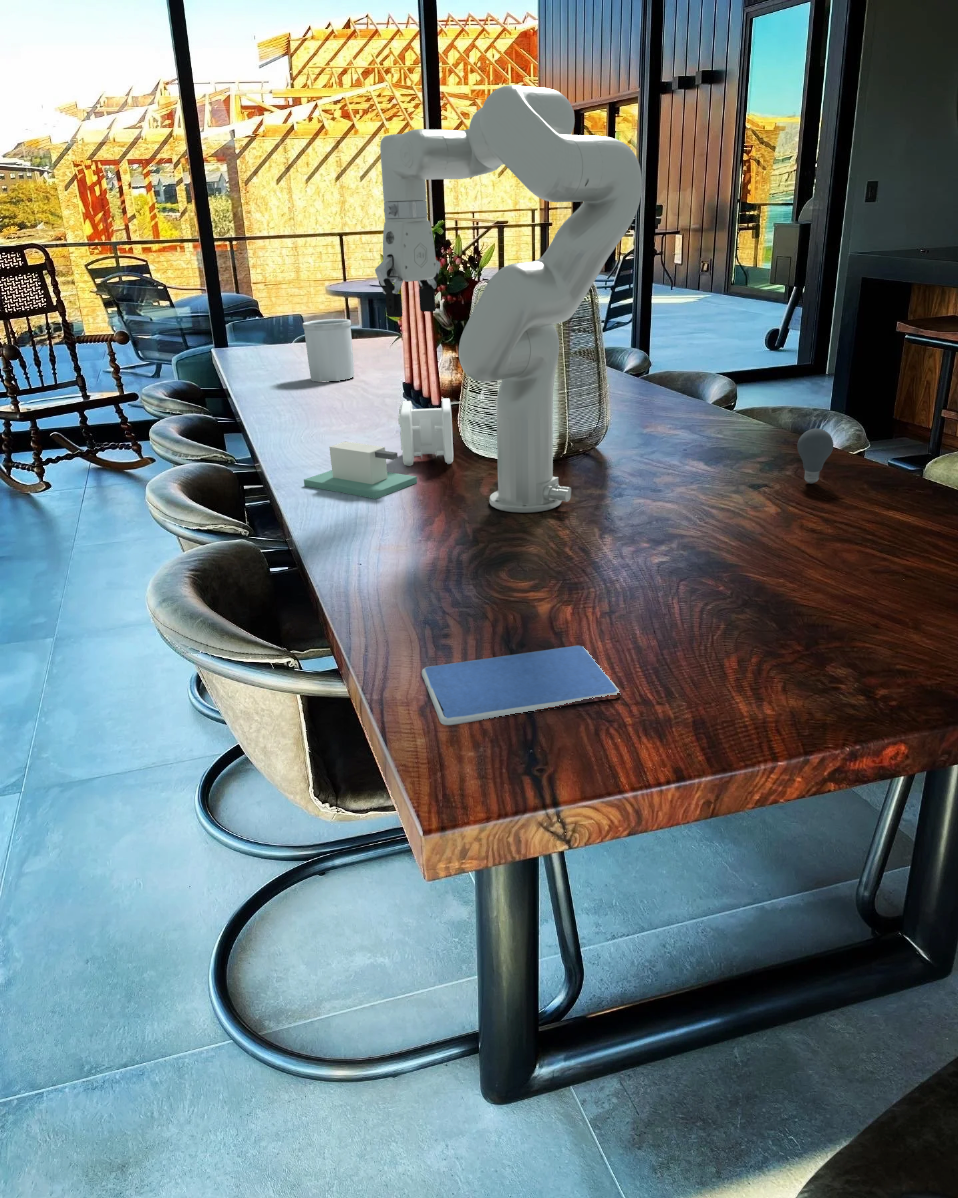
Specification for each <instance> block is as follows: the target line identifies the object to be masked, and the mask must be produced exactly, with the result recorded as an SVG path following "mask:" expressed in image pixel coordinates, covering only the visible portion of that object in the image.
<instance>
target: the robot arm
mask: <svg viewBox="0 0 958 1198" xmlns="http://www.w3.org/2000/svg"><path fill="white" fill-rule="evenodd" d="M575 120H576V119H575V111H574V109H573V106H572V104H571V102H570V100H569V99H568V98H567V97H566V96H565V95H564V94H562V93H561V92H560V91H558V90H555V89H551V88H547V87H539V86H538V87H536V86H526V85H517V84H516V85H515V84H514V85H513V84H512V85H511V84H509V85H503V86H501V87H498V88H497V89H495V90H494V91H492V92H491V93H490V95H488V97H487V98H486V99H485V101H484V103H483V105H482V107H481V108H479V109H477V110H476V112H475V113H474V114H473V115H472V118H471V120H470V123H469V127H468V129H461V130H457V129H437V128H435V129H434V128H432V129H425V128H418V129H411V130H409V131H406V132H404V133H398V134H397V133H396V134H389V135H385V136H383V137H382V138H381V140H380V144H379V146H380V148H379V150H380V164H381V166H380V167H381V180H382V181H381V182H382V192H383V193H382V194H383V212H384V222H383V223H384V224H383V232H382V234H383V235H382V259H383V261H382V262H380V264H379V265H377V266H376V268H375V270H374V272H375V274H376V277H377V279H378V285H379V286H380V287H381V289H382V293H383V294H384V295H385V309H386V316H387V317H388V318H402V317H403V301H402V293H399V292H400V290H401V287H402V284H403V282H418V284H419V285H420V287H421V288H419V291H418V292H419V310H420V312H425V313H426V312H427V313H428V312H429V313H430V312H431V313H433V312H436V294H435V293H436V292H435V289H436V288H437V282H438V280H439V277H440V276H439V273H440V269H441V262H440V261H439V260H437V259H436V249H435V242H434V241H435V240H434V236H433V235H434V233H433V230H432V225H431V222H430V220H428V204H427V186H426V185H427V184H426V180H428V181H429V180H464V179H469V178H473V177H477V176H482V175H486V174H489V173H492V172H494V171H497V170H498V169H499V168H500V167H501V166H503V165H504V166H505V167H506V168H507V169H508V170H509V171H510V172H511V173H512V174H513V175H514V176H515V177H516V178H517V179H518V180H519V182H520V183H522V184H523V186H524V187H525V188H527V189H528V191H529V192H531V193H532V194H533V195H534V196H535V197H537V198H539V199H540V200H543V201H546V202H550V203H569V202H570V203H574V202H575V203H577V202H579V203H580V202H582V203H581V204H580V206H579V207H578V208H577V209H576V210H575V211H574V212H573V213H572V214H571V215H570V216H569V217H568V218H567V219H566V220H565V221H564V222H563V223H562V224H561V226H560V227H559V228H558V230H557V231H556V233H555V235H554V237H553V239H552V240H551V242H550V244H549V246H548V247H547V249H546V251H545V252H544V253H543V255H542V256H541V257H540V258H538V259H536V260H533V261H524V262H517V263H512V264H508V265H506V266H504V267H502V268H500V269H499V270H498V271H496V272H495V273H494V274H493V276H491V278H490V279H489V280H488V282H487V284H486V285H485V288H484V290H483V291H482V293H481V295H480V297H479V299H478V301H477V303H476V304H475V307H474V309H473V311H472V312H471V315H470V317H469V319H468V321H466V324H465V326H464V328H463V331H462V334H461V336H460V339H459V345H458V359H459V363H460V365H461V368H462V370H463V372H464V373H465V374H466V375H467V376H468V377H469V378H471V379H472V380H474V381H477V382H481V383H485V382H486V383H488V382H497V381H501V382H500V386H499V388H498V392H497V397H496V408H495V409H496V442H497V443H496V448H497V449H496V450H497V451H496V453H497V490H496V491H494V492H492V493H491V494H490V496H489V504H490V506H491V507H493V508H495V509H497V510H499V511H504V512H510V513H523V514H527V513H538V512H539V513H540V512H544V511H549V510H553V509H555V508H556V507H559V506H560V505H561V504H562V502H569V501H570V500H571V498H572V487H571V486H570V487H569V486H563V485H562V486H560V484H559V477H558V476H554V475H553V474H554V473H553V472H554V471H553V470H554V463H553V462H554V461H553V460H554V459H553V458H554V455H553V454H554V453H553V451H554V447H553V446H554V437H553V436H554V435H553V434H554V431H553V429H554V428H553V427H554V425H553V423H554V422H553V421H554V389H555V388H554V385H555V376H556V370H557V364H558V359H559V353H560V339H559V333H558V332H557V329H556V326H555V325H558V324H561V323H564V322H566V321H569V320H570V319H571V317H572V316H573V315H574V314H575V312H576V311H577V310H578V309H579V306H581V303H582V302H583V300H584V299H585V297H586V296H587V294H588V293H589V290H590V289H591V287H592V286H593V284H594V282H595V281H596V279H597V277H598V276H599V274H600V273H601V271H602V269H603V268H604V265H605V264H606V262H607V260H608V259H609V257H610V256H611V254H612V253H613V252H614V250H615V249H616V247H617V246H618V244H619V243H620V241H621V240H622V238H623V237H624V236H625V234H626V233H627V231H628V229H629V228H630V227H631V225H632V223H633V221H634V219H635V217H636V214H637V212H638V209H639V207H640V206H639V205H640V203H641V199H642V197H641V196H642V189H643V187H642V185H643V177H642V170H641V165H640V163H639V160H638V158H637V156H636V154H635V152H634V151H633V150H632V149H631V147H630V146H629V145H628V144H626V143H625V142H623V141H621V140H620V139H616V138H613V137H610V136H601V135H589V134H588V135H587V134H586V135H584V134H583V135H581V134H579V135H578V134H572V133H573V131H574V128H575V122H576V121H575Z"/></svg>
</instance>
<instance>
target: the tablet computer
mask: <svg viewBox="0 0 958 1198" xmlns="http://www.w3.org/2000/svg"><path fill="white" fill-rule="evenodd" d="M584 647H585V646H582V645H573V646H572V645H571V646H570V645H569V646H565V647H564V646H563V647H559V648H558V647H557V648H551V649H545V650H537V651H531V652H522V653H516V654H509V655H502V656H496V657H489V658H481V659H474V660H466V661H459V662H453V663H447V664H439V665H431V666H426V667H424V668H423V669H422V670H421V676H422V678H423V680H424V684H425V687H426V689H427V691H428V694H429V696H430V699H431V702H432V704H433V707H434V710H435V712H436V715H437V717H438V720H439V722H440V724H442V725H444V726H453V725H460V724H462V725H463V724H466V723H471V722H479V721H484V720H489V718H490V719H494V717H496V718H500V717H499V716H502V717H506V716H505V715H509V716H511V715H510V714H515V713H521V714H524V713H523V712H528V711H534V712H536V711H535V710H537V709H544V708H548V707H555V706H559V705H564V704H566V703H568V704H569V703H572V702H575V701H581V700H583V699H589V698H592V697H593V698H595V697H601V696H602V697H605V696H607V695H609V696H610V695H617V693H620V694H621V691H620V689H619V688H618V687H617V686H616V684H615V683H614V682H613V681H612V679H611V678H610V677H609V675H608V674H607V673H606V672H605V671H604V669H603V668H602V667H601V666H600V665H598V664H599V663H598V662H597V661H596V659H595V658H594V657H593V656H592V654H591V653H590V652H589V650H588V649H587V648H586V647H585V648H586V649H587V650H586V649H585V648H584ZM589 653H590V654H591V655H590V654H589ZM592 657H593V658H594V659H593V658H592ZM595 661H596V662H597V663H598V664H597V663H596V662H595ZM600 667H601V668H600ZM602 669H603V670H602ZM603 671H604V672H603ZM605 673H606V674H607V675H606V674H605ZM610 679H611V680H610ZM619 691H620V692H619ZM593 698H592V699H593ZM528 713H529V712H528ZM515 715H516V714H515ZM483 719H484V720H483Z"/></svg>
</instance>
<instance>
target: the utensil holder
mask: <svg viewBox="0 0 958 1198" xmlns="http://www.w3.org/2000/svg"><path fill="white" fill-rule="evenodd" d="M351 326H352V321H351V319H348V318H347V319H346V318H330V319H329V318H328V319H327V318H326V319H317V320H310V321H305V322H303V323H302V328H303V330H304V331H303V332H304V338H305V339H304V340H305V346H306V347H305V348H306V354H307V360H308V361H307V363H308V368H309V373H310V380H311V381H312V380H313V381H312V382H314V381H339V382H341V381H340V380H344V379H350V378H352V377H354V378H355V361H354V350H353V339H352V330H351V329H352V327H351ZM350 380H351V379H350Z"/></svg>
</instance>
